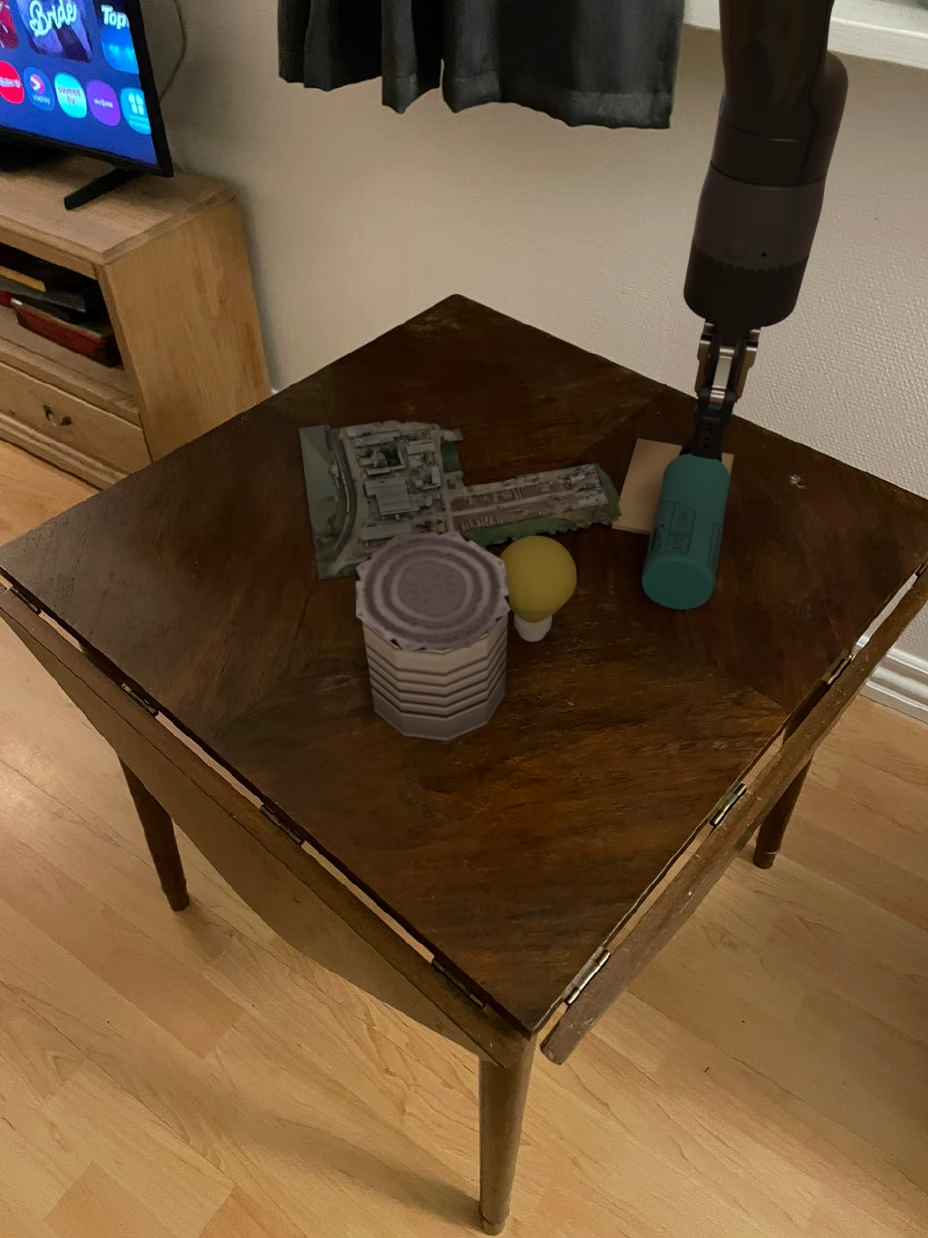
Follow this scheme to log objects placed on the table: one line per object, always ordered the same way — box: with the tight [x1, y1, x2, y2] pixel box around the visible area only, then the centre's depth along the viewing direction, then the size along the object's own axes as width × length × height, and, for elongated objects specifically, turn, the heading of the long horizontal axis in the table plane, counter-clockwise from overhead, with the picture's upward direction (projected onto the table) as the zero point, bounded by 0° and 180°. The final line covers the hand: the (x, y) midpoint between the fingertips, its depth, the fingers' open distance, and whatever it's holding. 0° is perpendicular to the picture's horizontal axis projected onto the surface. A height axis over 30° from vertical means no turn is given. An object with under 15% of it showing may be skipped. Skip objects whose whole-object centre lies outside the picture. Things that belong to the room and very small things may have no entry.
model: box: [298, 419, 622, 581], centre depth 93 cm, size 21×30×2 cm
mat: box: [611, 437, 735, 536], centre depth 93 cm, size 10×14×1 cm
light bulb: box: [498, 535, 578, 642], centre depth 77 cm, size 7×7×10 cm
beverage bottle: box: [639, 435, 731, 610], centre depth 85 cm, size 6×7×20 cm
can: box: [355, 532, 512, 742], centre depth 72 cm, size 11×11×12 cm
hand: (704, 451), depth 73 cm, fingers closed
